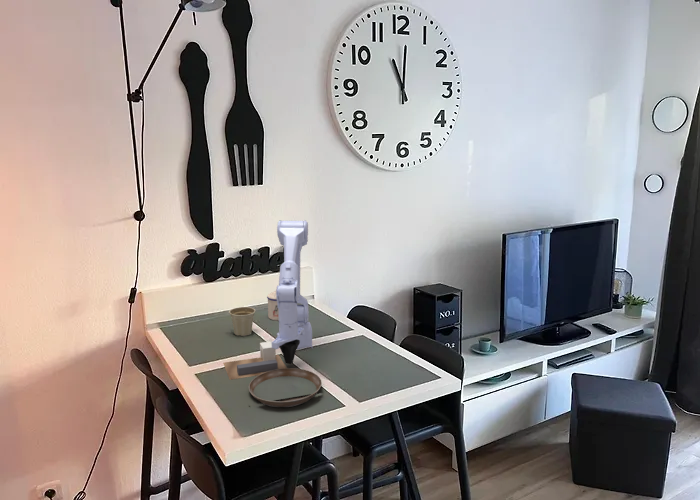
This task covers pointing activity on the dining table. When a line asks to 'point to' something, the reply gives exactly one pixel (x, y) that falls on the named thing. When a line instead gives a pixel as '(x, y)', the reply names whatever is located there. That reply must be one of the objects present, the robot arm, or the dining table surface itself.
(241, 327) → the flower pot
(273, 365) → the bar
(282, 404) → the plant saucer
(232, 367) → the board
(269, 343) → the pale grey block
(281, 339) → the robot arm
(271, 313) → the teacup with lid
